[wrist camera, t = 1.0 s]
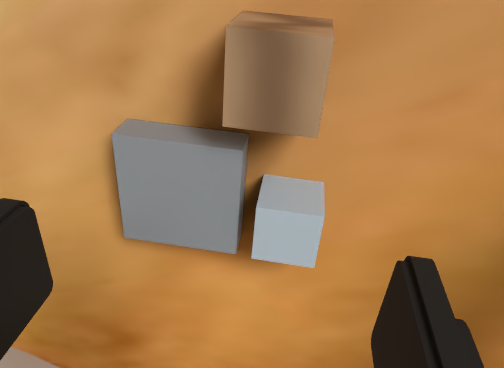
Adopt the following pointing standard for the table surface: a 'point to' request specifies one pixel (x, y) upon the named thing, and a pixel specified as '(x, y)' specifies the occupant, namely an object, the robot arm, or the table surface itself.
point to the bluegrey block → (288, 220)
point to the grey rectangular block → (181, 184)
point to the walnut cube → (276, 72)
